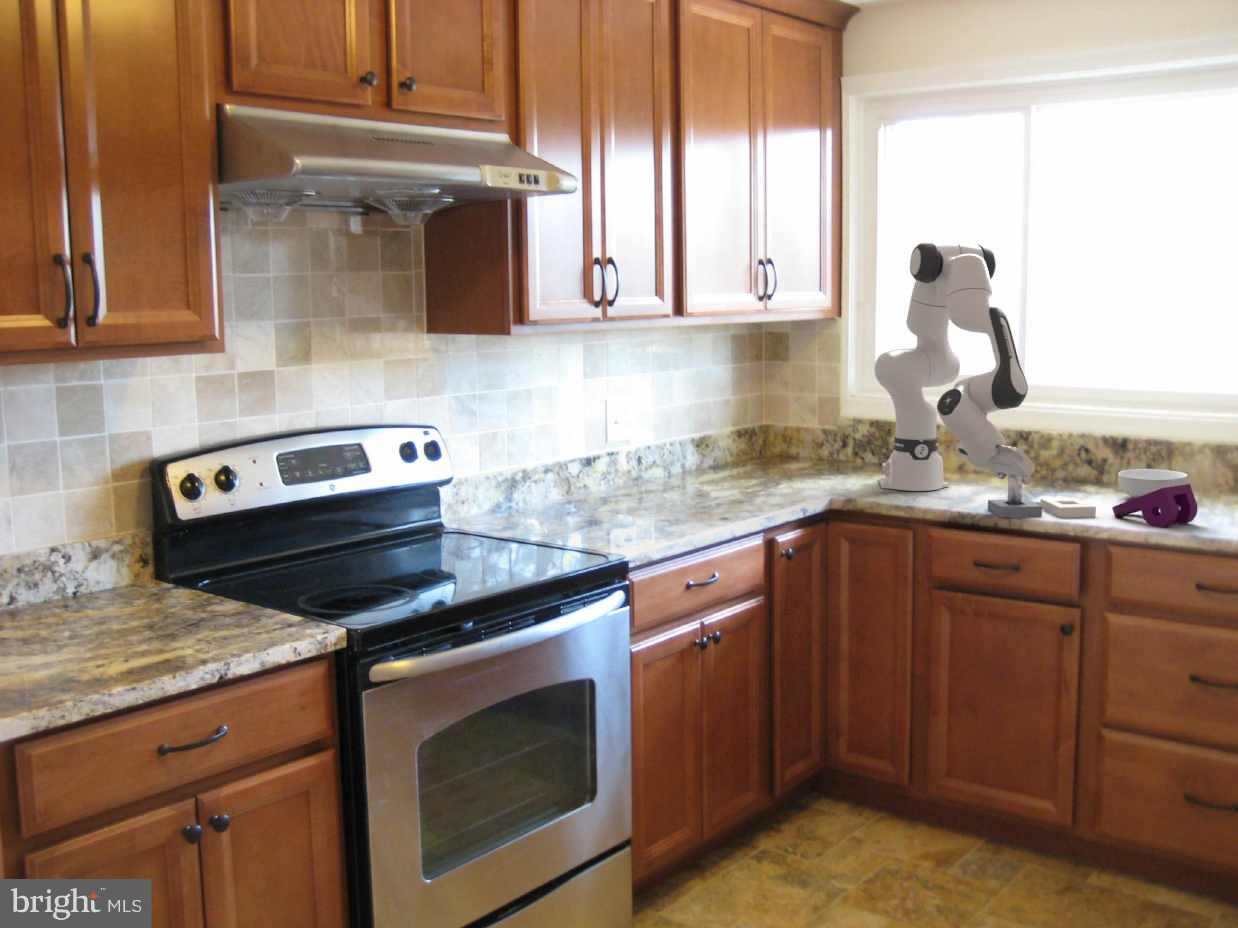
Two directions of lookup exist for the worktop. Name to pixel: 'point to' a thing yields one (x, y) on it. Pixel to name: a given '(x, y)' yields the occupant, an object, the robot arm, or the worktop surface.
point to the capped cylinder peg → (1014, 490)
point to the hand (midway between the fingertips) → (1015, 479)
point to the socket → (1015, 508)
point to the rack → (1068, 507)
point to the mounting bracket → (1162, 506)
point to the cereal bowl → (1149, 480)
